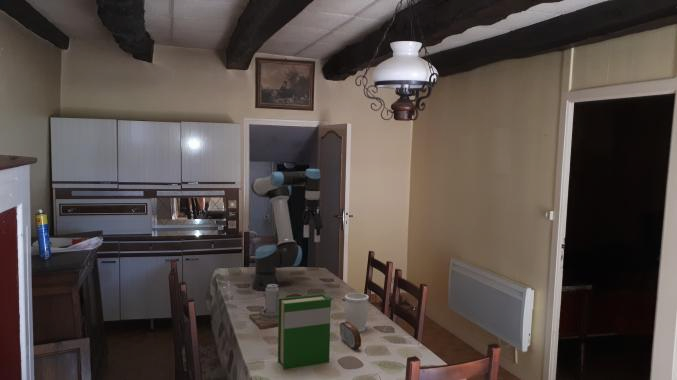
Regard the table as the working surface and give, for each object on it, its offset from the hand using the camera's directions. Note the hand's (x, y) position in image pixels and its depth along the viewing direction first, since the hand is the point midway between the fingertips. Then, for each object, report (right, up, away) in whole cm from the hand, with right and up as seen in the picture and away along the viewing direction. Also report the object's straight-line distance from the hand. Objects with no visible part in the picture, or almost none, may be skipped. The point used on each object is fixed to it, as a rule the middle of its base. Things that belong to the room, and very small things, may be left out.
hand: (311, 239), depth 261 cm
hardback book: (+1, -38, -74) cm, 84 cm away
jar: (+22, -36, -40) cm, 58 cm away
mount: (-17, -34, -32) cm, 49 cm away
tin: (+18, -37, -57) cm, 71 cm away
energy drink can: (-16, -33, -32) cm, 48 cm away
